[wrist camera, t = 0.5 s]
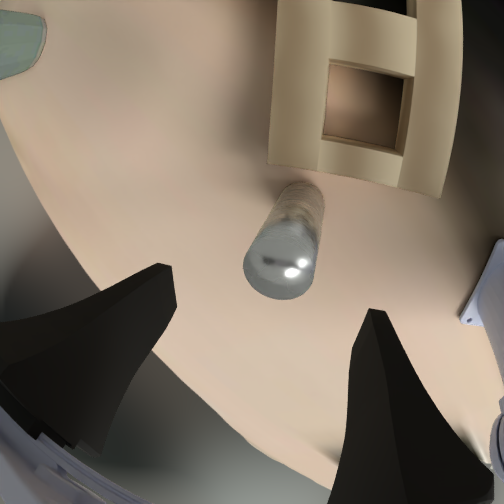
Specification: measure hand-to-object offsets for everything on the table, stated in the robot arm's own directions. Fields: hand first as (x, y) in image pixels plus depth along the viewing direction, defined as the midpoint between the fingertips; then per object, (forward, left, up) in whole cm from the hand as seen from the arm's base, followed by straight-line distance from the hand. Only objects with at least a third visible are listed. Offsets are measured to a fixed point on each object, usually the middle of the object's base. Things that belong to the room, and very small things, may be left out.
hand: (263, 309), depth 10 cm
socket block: (-3, -11, -10) cm, 15 cm away
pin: (0, 0, -10) cm, 10 cm away
